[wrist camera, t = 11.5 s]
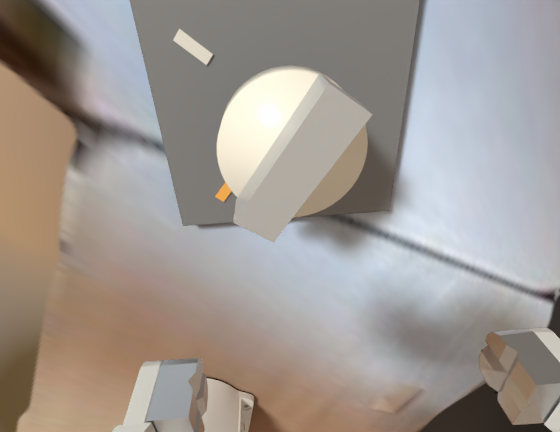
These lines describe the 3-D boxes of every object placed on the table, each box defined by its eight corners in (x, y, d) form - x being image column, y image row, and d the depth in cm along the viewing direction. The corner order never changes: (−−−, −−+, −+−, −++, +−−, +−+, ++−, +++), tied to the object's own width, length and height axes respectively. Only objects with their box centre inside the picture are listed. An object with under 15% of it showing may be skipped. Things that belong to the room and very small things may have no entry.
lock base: (383, 201, 39) (410, 244, 32) (186, 215, 38) (171, 262, 31) (415, -43, 27) (470, -58, 20) (130, -29, 26) (88, -39, 19)
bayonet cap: (356, 55, 23) (386, 71, 18) (356, 197, 28) (378, 240, 23) (205, 76, 23) (192, 98, 18) (236, 214, 28) (232, 260, 23)
